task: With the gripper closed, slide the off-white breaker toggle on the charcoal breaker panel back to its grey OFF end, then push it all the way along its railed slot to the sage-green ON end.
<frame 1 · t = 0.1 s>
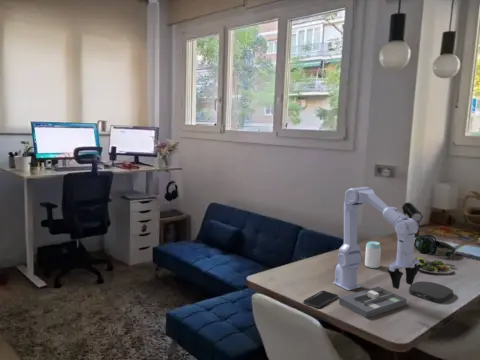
hand: (402, 285, 161), 10 cm above the table, tool pointing down, fingers open, 7 cm apart
salad plate: (430, 269, 208), on the table
can: (372, 266, 210), on the table
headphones: (433, 253, 231), on the table
breaker toggle: (373, 294, 167), point 4 cm above the table, slide at 0.0 cm
breaker panel: (372, 304, 167), on the table
media streaming box: (430, 295, 178), on the table
phone: (321, 301, 171), on the table
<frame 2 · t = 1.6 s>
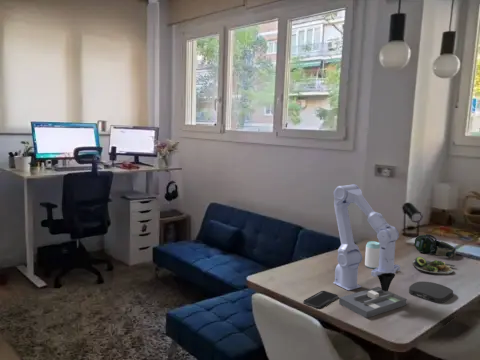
hand: (384, 290, 170), 4 cm above the table, tool pointing down, fingers closed
nothing on the table moved.
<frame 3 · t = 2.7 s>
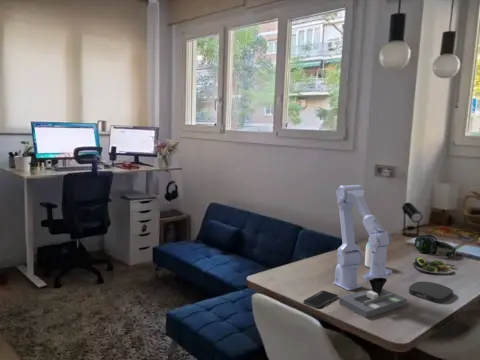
hand: (376, 295, 168), 3 cm above the table, tool pointing down, fingers closed
breaker toggle: (372, 295, 166), point 4 cm above the table, slide at -0.5 cm, touching gripper
everything else where it was.
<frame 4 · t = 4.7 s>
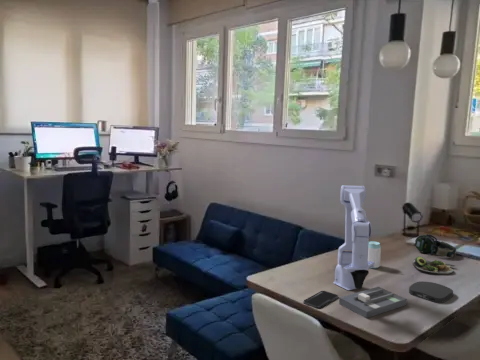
hand: (358, 288, 162), 9 cm above the table, tool pointing down, fingers closed
breaker toggle: (363, 297, 164), point 4 cm above the table, slide at -5.1 cm
everything else where it was.
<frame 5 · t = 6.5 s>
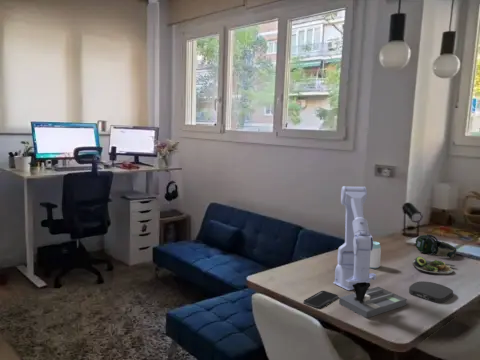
hand: (359, 300, 163), 3 cm above the table, tool pointing down, fingers closed
breaker toggle: (364, 297, 164), point 4 cm above the table, slide at -4.9 cm, touching gripper
everything else where it was.
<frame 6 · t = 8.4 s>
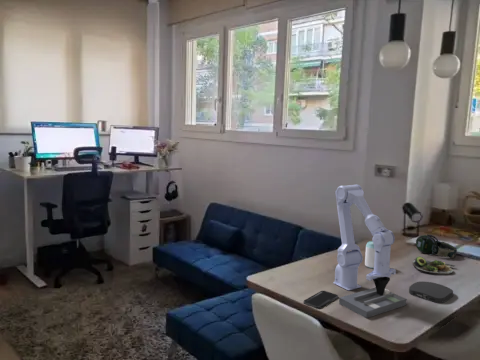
hand: (379, 294, 169), 3 cm above the table, tool pointing down, fingers closed
breaker toggle: (383, 291, 170), point 4 cm above the table, slide at 6.1 cm, touching gripper
everything else where it was.
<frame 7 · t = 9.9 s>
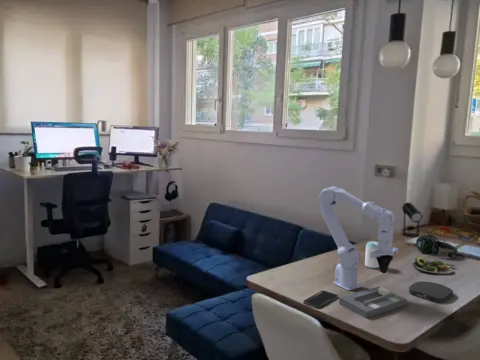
hand: (383, 272, 176), 9 cm above the table, tool pointing down, fingers closed
breaker toggle: (383, 291, 170), point 4 cm above the table, slide at 6.1 cm
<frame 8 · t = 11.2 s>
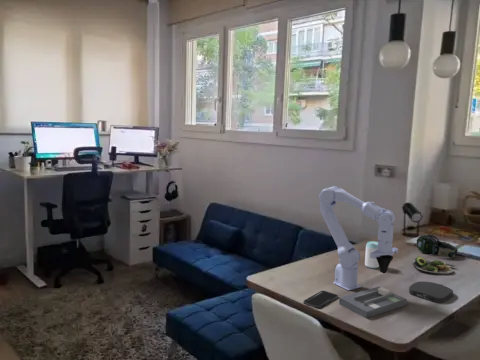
hand: (383, 272, 176), 9 cm above the table, tool pointing down, fingers closed
at the end: breaker toggle slide at 6.1 cm; phone moved 0.6 cm from its start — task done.
